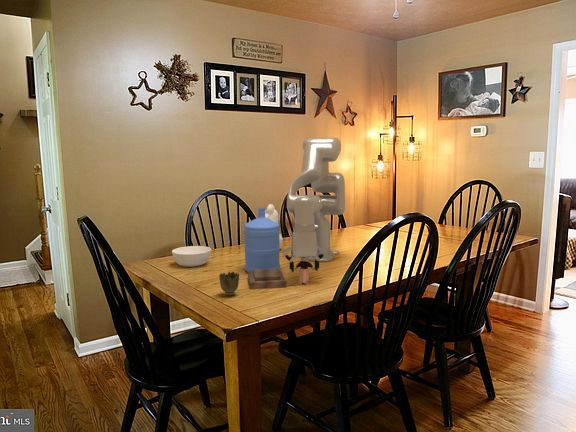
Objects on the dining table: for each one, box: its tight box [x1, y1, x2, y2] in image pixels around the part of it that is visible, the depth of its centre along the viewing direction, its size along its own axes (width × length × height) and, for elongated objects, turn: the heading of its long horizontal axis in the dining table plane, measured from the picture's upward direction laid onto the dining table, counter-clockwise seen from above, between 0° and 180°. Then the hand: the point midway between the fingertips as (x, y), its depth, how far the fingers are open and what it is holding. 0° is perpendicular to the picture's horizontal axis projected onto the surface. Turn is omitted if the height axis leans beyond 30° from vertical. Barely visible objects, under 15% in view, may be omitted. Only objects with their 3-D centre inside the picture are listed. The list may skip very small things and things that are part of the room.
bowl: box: [171, 245, 212, 268], centre depth 216 cm, size 18×18×7 cm
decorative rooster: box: [265, 203, 284, 249], centre depth 241 cm, size 25×16×25 cm, turn 158°
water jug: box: [243, 207, 281, 273], centre depth 201 cm, size 16×16×28 cm
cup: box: [218, 271, 240, 297], centre depth 169 cm, size 8×7×8 cm
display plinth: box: [247, 269, 287, 290], centre depth 185 cm, size 14×16×4 cm
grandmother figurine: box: [294, 257, 315, 285], centre depth 182 cm, size 8×4×13 cm, turn 96°
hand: (304, 270), depth 182 cm, fingers open, 9 cm apart
